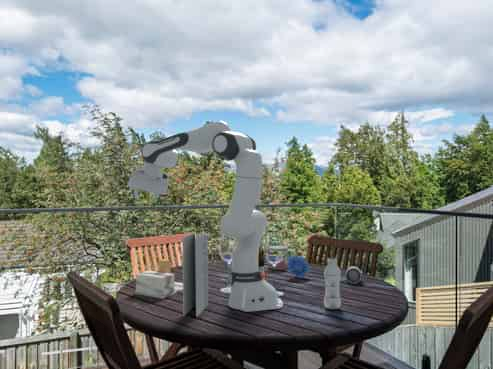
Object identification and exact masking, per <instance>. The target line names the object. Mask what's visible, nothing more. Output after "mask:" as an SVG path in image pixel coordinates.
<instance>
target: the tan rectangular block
mask: <svg viewBox="0 0 493 369" xmlns="http://www.w3.org/2000/svg"><path fill="white" fill-rule="evenodd" d="M158 272H163V273H170V274H172V273H171V259H167V258H162V259H158Z"/></svg>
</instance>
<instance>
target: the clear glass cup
mask: <svg viewBox="0 0 493 369" xmlns="http://www.w3.org/2000/svg"><path fill="white" fill-rule="evenodd" d="M267 248H268V252H269V251H283V252H284V255H285V258H284V260H283V261H282V262H281V263H279V264H278V265H277V266H276V267H273V266H271V265H269V264H268V269H270V268H271V270H286V269H289V268H288V267H287V264H288V263H289V261H288V259H289V258H288V249H289V248H288V245H286V246H285V245H269V246H268V247H267Z"/></svg>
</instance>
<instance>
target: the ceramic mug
mask: <svg viewBox="0 0 493 369" xmlns="http://www.w3.org/2000/svg"><path fill="white" fill-rule="evenodd" d="M361 280H362V272H361V269H360V268H358V267H357V266H353V265H352V266H349V267H348V268H347V269H346V272H345V274H344V275H342V276H340V282H345V281H347V282H349V283H350V284H358V283H359V282H360V281H361Z"/></svg>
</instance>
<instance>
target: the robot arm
mask: <svg viewBox="0 0 493 369" xmlns="http://www.w3.org/2000/svg"><path fill="white" fill-rule="evenodd" d="M256 144H257V143H256V140H254V138H252V137H251V136H249V135H248V134H245V133H240V132H236V131H231V128H230V126H229V124H227V123H226V122H225V121H224V120H217V121H214V122H210V123H207V124H205V125H203V126H200V127H198V128H196V129H192V130H189V131H185V132H184V131H183V132H180V133H176V134H174V135H173V134H172V135H171V136H167V137H165V138H162V139H158V138H156V139H154V138H153V139H151V140H150V141H148V142H146V143H145V144H144V145H143V146H142V149H141V156H142V157H141V158H142V159H143V160H144V162H143V164H142V165H143V166H142V169H139V168H135V169H132V170H131V172H130V177H129V178H128V182H127V186H128V187H129V188H131V189H133V194H134V199H135V200H139V199H140V197H141V196H140V195H139V191H145V192H148V193H153V194H154V197H153V198H151V202H150V203H154V204H155V203H156V202H157V199H159V197H160V195H162V196H165V195H167V193H168V188H169V179H170V175H168V174H166V173H165V172H164V171H162V168H166V169H174V168H175V167H176V166H177V165H178V163H179V161H180V154H179V152H178V150H179V151H180V150H182V151H188V152H192V153H196V154H204V153H208V152H211V151H213V152H214V153H215V154H216V155H217V156H219V157H221V158H223V159H225V160H228V161H230V162H231V161H233V162H234V164H235V176H234V188H233V192H232V194H233V195H232V199H231V202H230V204H229V207H228V209H227V211H226V213H225V214H224V216H222V218H221V219H220V223H219V228H220V232H221V234H222V235H223V236H224V237H225V238H228V239H233V240H236V244H235V246H234V247H233V249H232V250H231V270H230V277H229V278H230V279H229V280H230V285H231V287H230V296H229V300H228V307H229V308H232V309H233V310H240V311H243V312H246V313H248V312H258V311H267V310H277V309H283V307H284V303H283V300H282V299H281V298H280V297H278V293H277V289H276V288H275V287H274V286H273V285H271V284H270V283H269V282H268V281H266V280H265V278H266V274H265V272H264V271H262V270H260V269H259V252H260V245H261V242H262V238H263V234H264V231H265V230H266V228H267V226H268V218H267V216H266V214H265V213H264V212H263V211H260V210H257V209H255V206H256V205H257V202H259V200H260V199H261V196H262V194H261V193H262V184H263V158H262V155H261V153H260V152H258V151H257V150H256V149H257V145H256Z"/></svg>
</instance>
